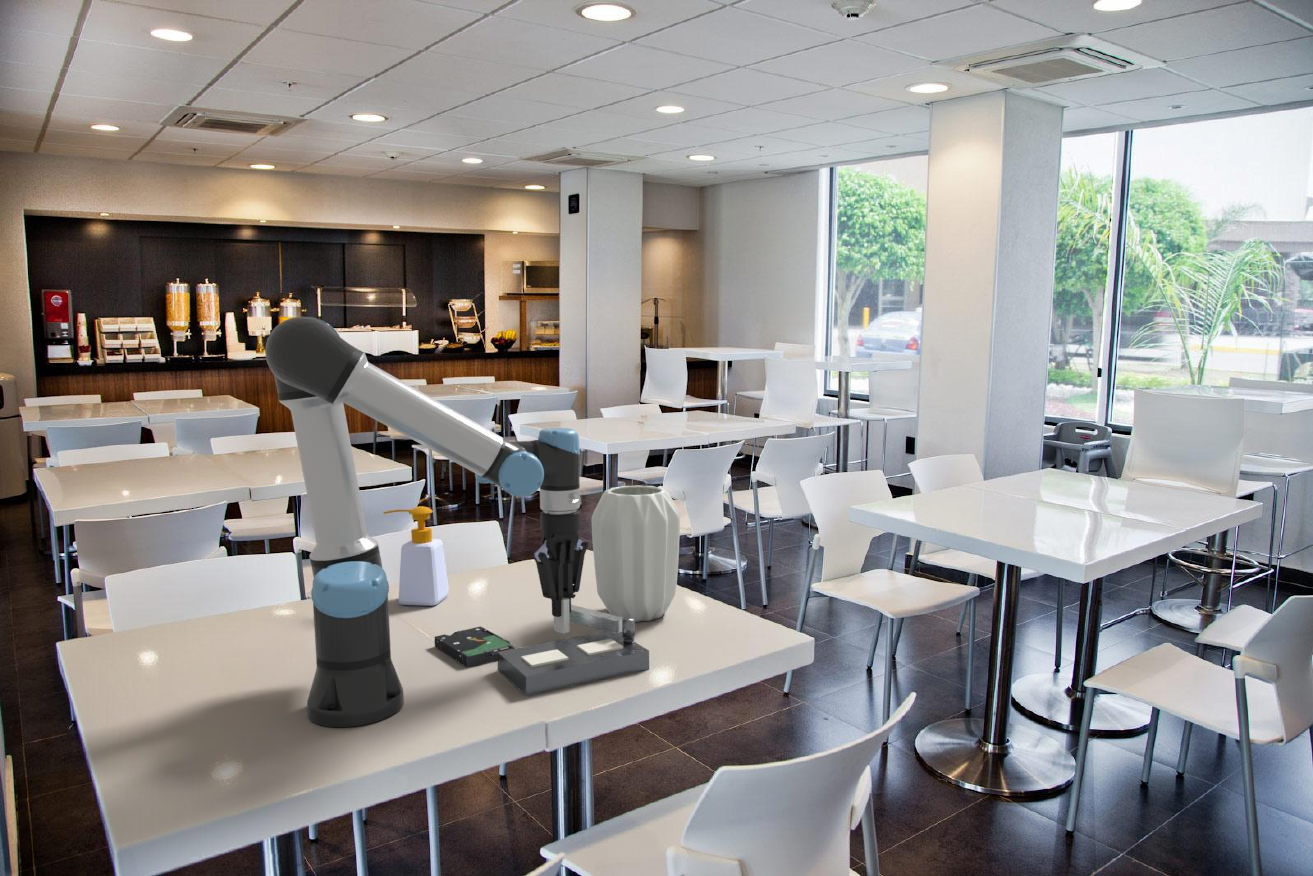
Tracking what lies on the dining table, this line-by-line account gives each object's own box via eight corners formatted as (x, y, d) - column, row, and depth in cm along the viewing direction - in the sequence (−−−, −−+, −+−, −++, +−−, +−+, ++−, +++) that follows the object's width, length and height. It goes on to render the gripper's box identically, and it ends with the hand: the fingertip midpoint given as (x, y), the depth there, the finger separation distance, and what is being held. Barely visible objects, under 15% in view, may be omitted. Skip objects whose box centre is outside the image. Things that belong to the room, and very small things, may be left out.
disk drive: (433, 650, 180) (468, 670, 168) (432, 636, 180) (467, 656, 168) (480, 638, 186) (517, 657, 175) (480, 625, 186) (516, 643, 174)
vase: (631, 634, 186) (629, 502, 183) (575, 613, 200) (572, 490, 197) (700, 614, 198) (699, 490, 195) (642, 595, 213) (641, 479, 210)
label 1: (531, 667, 159) (531, 665, 159) (521, 658, 163) (521, 656, 163) (568, 659, 162) (568, 657, 162) (557, 651, 166) (557, 649, 166)
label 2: (588, 655, 164) (588, 653, 164) (577, 647, 168) (577, 645, 168) (623, 648, 168) (623, 646, 167) (610, 640, 172) (610, 638, 172)
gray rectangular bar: (637, 635, 171) (637, 618, 171) (629, 639, 169) (628, 621, 169) (564, 616, 183) (564, 600, 183) (555, 619, 181) (555, 603, 181)
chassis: (526, 696, 155) (525, 672, 154) (497, 670, 167) (497, 647, 166) (649, 669, 167) (649, 646, 166) (614, 646, 179) (613, 625, 178)
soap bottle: (395, 594, 217) (391, 502, 214) (451, 595, 215) (448, 503, 212) (378, 605, 207) (373, 510, 205) (436, 607, 205) (432, 511, 203)
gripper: (548, 518, 164) (550, 644, 167) (598, 507, 174) (599, 627, 177) (520, 513, 169) (523, 636, 172) (570, 503, 179) (572, 619, 182)
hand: (561, 631), depth 174 cm, fingers closed
